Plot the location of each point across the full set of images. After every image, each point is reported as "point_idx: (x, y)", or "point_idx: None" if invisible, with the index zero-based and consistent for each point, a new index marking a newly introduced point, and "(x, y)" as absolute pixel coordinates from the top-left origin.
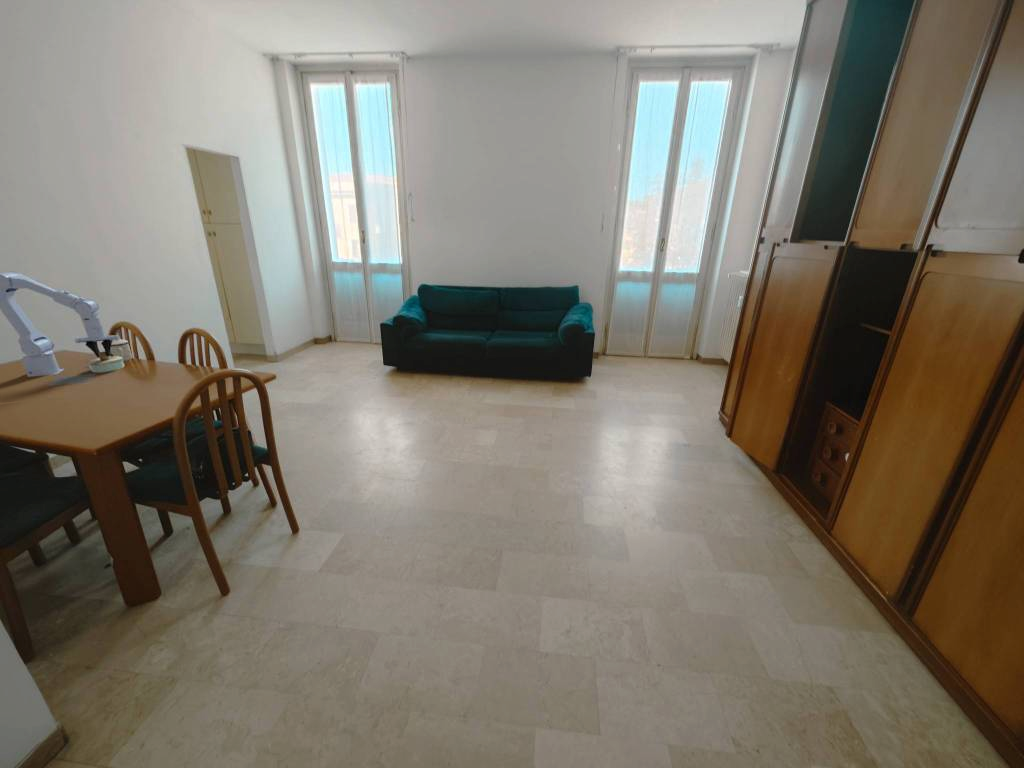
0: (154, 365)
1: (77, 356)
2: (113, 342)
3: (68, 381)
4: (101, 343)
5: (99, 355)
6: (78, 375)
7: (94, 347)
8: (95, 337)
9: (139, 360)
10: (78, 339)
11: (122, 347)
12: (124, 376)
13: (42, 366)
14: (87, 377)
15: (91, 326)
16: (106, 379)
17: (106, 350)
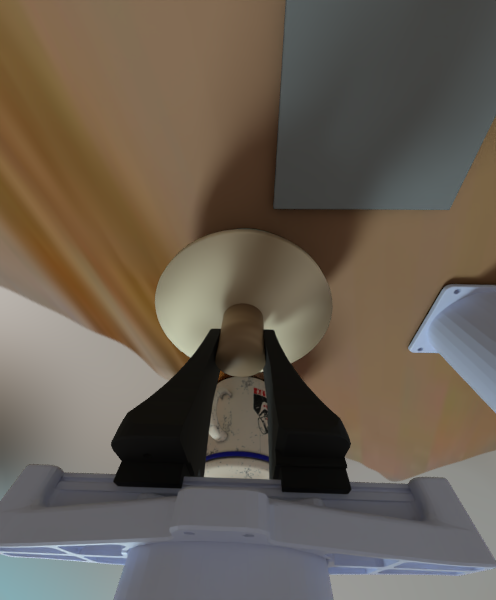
0: (61, 282)
1: (367, 450)
2: (236, 477)
3: (423, 23)
4: (181, 425)
5: (256, 332)
6: (360, 205)
7: (273, 395)
8: (201, 573)
9: None
10: (445, 549)
11: (211, 440)
12: (75, 62)
13: None
14: (307, 114)
15: None
16: (170, 9)
17: (197, 360)
